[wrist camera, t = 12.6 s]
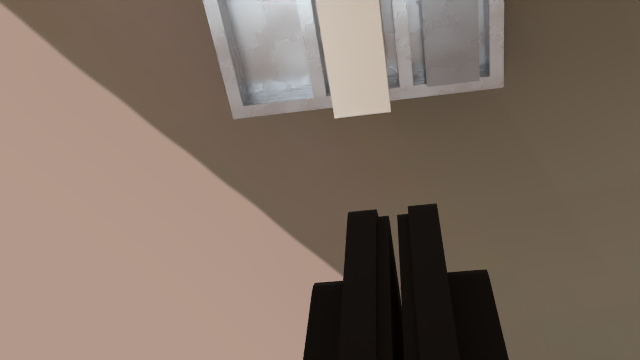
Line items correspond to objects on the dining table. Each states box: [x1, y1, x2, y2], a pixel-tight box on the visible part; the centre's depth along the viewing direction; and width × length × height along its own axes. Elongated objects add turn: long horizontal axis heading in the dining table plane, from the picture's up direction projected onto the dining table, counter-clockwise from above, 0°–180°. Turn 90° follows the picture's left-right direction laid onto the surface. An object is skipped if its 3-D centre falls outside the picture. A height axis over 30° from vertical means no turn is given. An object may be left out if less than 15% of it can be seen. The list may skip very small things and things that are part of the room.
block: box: [315, 0, 391, 118], centre depth 32 cm, size 3×8×7 cm, turn 9°
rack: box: [203, 0, 504, 119], centre depth 35 cm, size 17×11×4 cm
